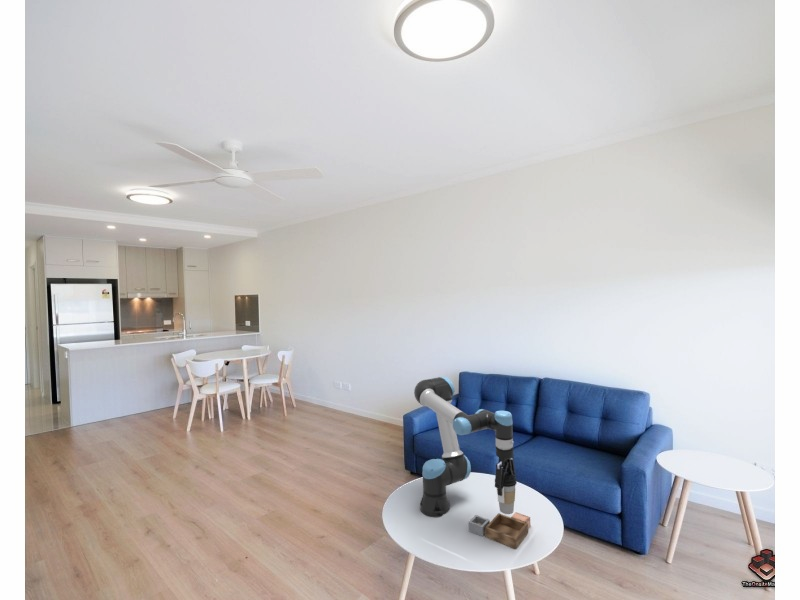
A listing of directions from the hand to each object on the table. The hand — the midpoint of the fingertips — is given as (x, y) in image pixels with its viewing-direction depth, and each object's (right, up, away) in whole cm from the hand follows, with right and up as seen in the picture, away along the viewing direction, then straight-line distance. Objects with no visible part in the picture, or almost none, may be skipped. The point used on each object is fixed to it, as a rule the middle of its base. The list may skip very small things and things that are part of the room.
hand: (505, 497), depth 171 cm
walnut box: (+1, -18, 0) cm, 18 cm away
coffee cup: (0, -6, 0) cm, 6 cm away
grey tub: (-11, -18, +4) cm, 22 cm away
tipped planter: (+9, -17, +6) cm, 21 cm away
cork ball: (-11, -17, +4) cm, 21 cm away
